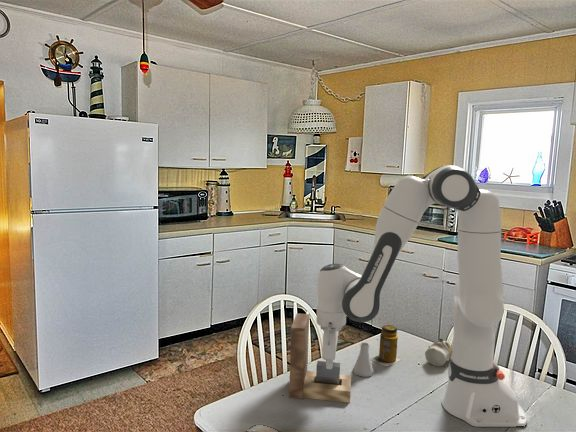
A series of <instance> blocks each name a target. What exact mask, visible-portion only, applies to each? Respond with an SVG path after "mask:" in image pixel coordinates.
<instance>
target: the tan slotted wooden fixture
mask: <svg viewBox="0 0 576 432" xmlns="http://www.w3.org/2000/svg"><path fill="white" fill-rule="evenodd" d="M309 331H310V314H309V313H298V312H297V313H296V314H295V317H294V319H293V322H292V325H291V328H290V355H289V357H290V358H289V385H288V386H289V388H288V398H289V399H297V400H303V399H313V400H321V401H322V400H323V401H329V402H330V401H331V402H340V403H341V402H342V403H347V404H348V403H350V402H351V392H352V391H351V388H352V385H351V384H352V375H351V374H341V373H340V380H339V385H332V384H322V383H316V371H311V370H308V362H309V361H308V359H309V358H308V356H309V334H310V332H309Z"/></svg>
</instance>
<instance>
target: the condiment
mask: <svg viewBox="0 0 576 432" xmlns="http://www.w3.org/2000/svg"><path fill="white" fill-rule="evenodd" d="M398 338H399V337H398V329H397V327H396V326H394V325H391V324H385V325H383V326H382V327H381V333H380V337H379V352H378V355H377V356H374V357H371V358H370V360H371V361H373V362H376V363H377V364H380V365H382V366H385V367H391V365H394V364H396V363H398V362H400V361H401V358H398V357H397V350H398Z"/></svg>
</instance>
